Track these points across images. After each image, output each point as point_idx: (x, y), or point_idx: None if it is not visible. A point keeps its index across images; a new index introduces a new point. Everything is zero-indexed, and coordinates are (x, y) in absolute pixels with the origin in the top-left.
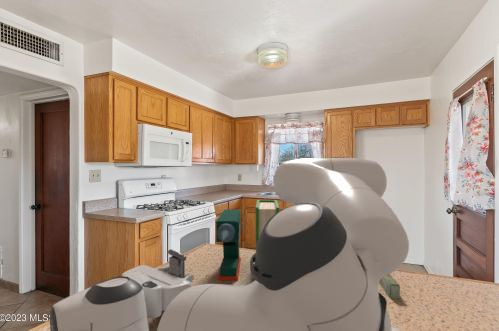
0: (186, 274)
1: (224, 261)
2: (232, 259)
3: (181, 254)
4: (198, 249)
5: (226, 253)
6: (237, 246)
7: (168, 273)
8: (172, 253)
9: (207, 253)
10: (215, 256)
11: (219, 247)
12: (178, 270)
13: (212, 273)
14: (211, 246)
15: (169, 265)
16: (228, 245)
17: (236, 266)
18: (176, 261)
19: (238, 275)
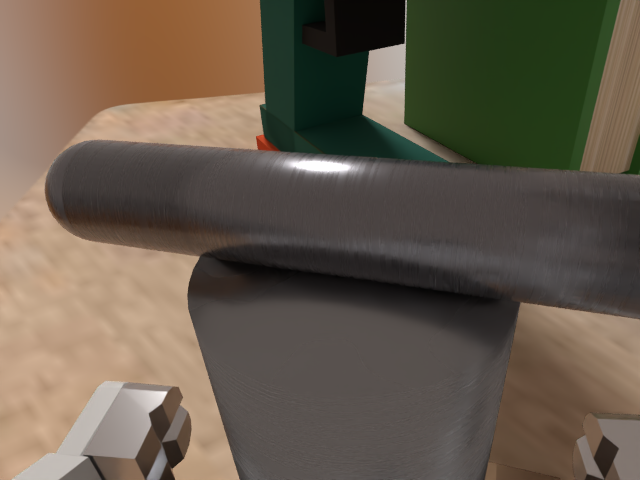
0: (618, 466)
1: (335, 150)
2: (356, 130)
3: (582, 177)
4: (85, 137)
5: (309, 109)
6: (365, 58)
7: (171, 466)
8: (223, 214)
9: (146, 142)
10: (198, 145)
11: (171, 109)
12: (480, 474)
13: None
14: (132, 113)
15: (275, 478)
16: (366, 49)
17: (438, 157)
18: (484, 375)
19: None
